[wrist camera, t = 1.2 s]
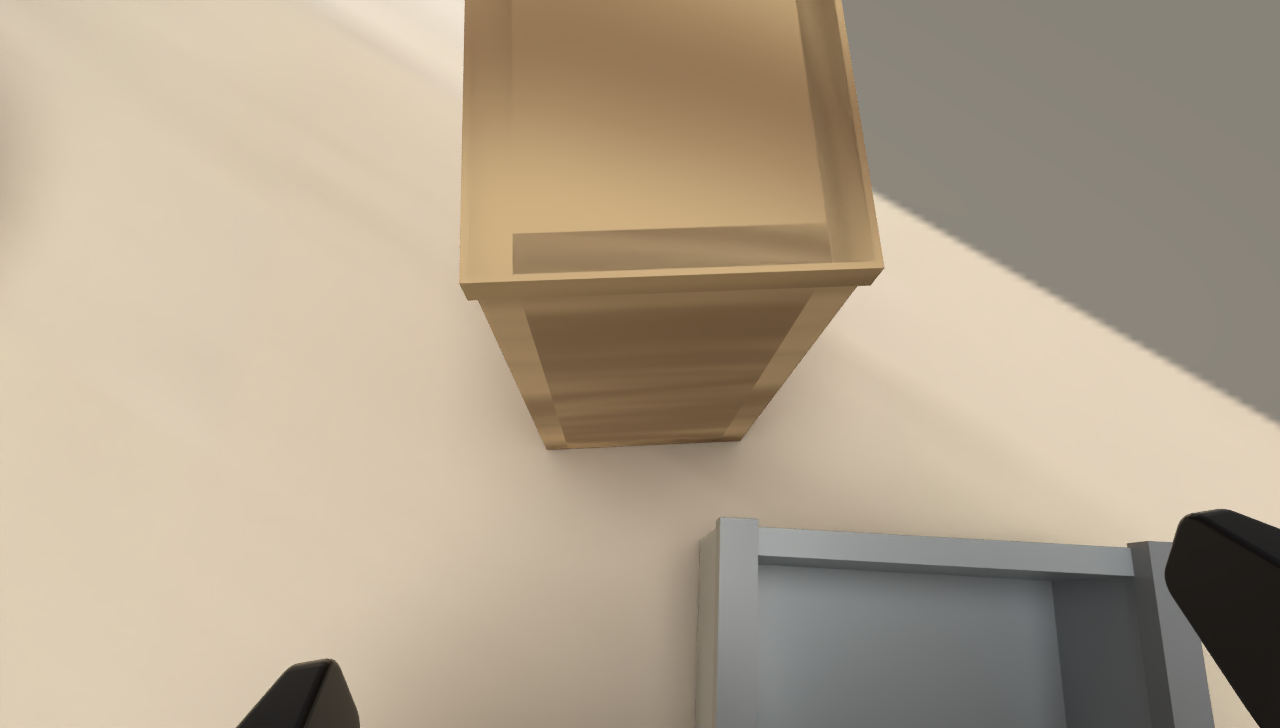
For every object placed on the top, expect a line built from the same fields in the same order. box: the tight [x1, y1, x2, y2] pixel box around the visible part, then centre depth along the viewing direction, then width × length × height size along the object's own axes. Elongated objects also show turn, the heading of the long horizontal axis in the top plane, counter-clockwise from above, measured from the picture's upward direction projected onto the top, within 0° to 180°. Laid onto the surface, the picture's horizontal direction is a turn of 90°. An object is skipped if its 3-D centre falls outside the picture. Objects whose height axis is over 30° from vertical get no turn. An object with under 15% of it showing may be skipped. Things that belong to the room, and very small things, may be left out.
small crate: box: [459, 0, 884, 450], centre depth 17 cm, size 6×6×12 cm
